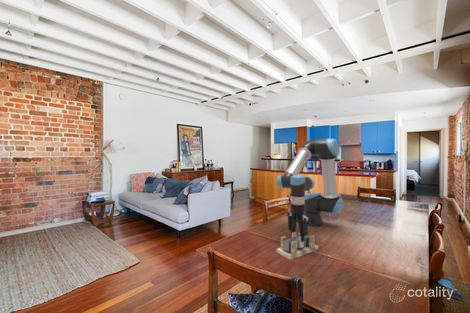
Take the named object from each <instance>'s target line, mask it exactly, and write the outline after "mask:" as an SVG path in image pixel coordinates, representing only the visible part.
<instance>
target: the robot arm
mask: <svg viewBox="0 0 470 313" xmlns="http://www.w3.org/2000/svg"><path fill="white" fill-rule="evenodd" d="M339 155H340V146H339V143H338V141H337V139H335V138H317V139H310V140H307V141H305V143H303V144H302V145H301V146H300V148H298V150H297V154H296V156H295V157H294V159H293V160H292V161H291V163H290V165H289V166H288V168H287V169H286V171H285V172H284V174H282V175H278V176H277V177H276V179H275V184H276V187H278V188H281V189H290V210H291V211H289V212H287V229H288V230H289V231H290V236H291V238H293V237H297V231H296V228H297V225H298V228H299V232H300V235H299V248H302V247H304V241H305V236H306V235H308V236H309V233H308V232H309V226H310V227H321V226H323V225H324V220H323V218H322V214H321V212H323V213H327V214H328V213H329V214H336V215H338V214H340V213H341V211H342V208H343V202H344V200H343V198H342V197H340V194H339V193H338V191H337V190H338V189H337V178H336V177H337V176H336V164H335V160H336V159H337V156H339ZM313 156H314V157H315V156H317V157H318V160H319V161H320V163H321V176H322V188H323V189H322V190H323V192H322V193H320V192H308V193H306V191H310V190H311V189H313V188H314V187H315V180H314V179H313V177H310V176H304V175H301V174H299V173H300V172H301V170H302V169H303V168H304V165H305V164H306V162H307V161H308V160H309V159H311V157H313Z"/></svg>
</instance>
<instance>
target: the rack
mask: <svg viewBox="0 0 470 313" xmlns="http://www.w3.org/2000/svg"><path fill="white" fill-rule="evenodd" d="M297 233H298V235H297V236H299V235H300V231H298V232H297ZM308 236H309V245H308V246H305V247H302V248H299V249H297V241H292V242H291V251H290V252H288V251H286V250H284V249H283V240H287V236H286V235H284V236H281V237H280V247H279V248H276V253H277V254H279V255H280V256H282V257H284V258H286V259H288V260H289V261H292V260H293V259H296V258H299V257H302V256H305V255H308V254H310V253H312V252H315V251H317V250H319V246H318V245H317V244H316V243H315V242H316V241H315V239H316V238H315V235H313V234H312V235H308Z"/></svg>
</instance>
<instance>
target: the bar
mask: <svg viewBox="0 0 470 313" xmlns="http://www.w3.org/2000/svg"><path fill="white" fill-rule="evenodd" d="M309 236H310V235H309V234H308V235H306V236H305V241H304V247H305V246H308V245H309ZM292 241H297V249H299V236H298V235H296V237H293V238H292V237H291V238H288V239H287V240H283V249H284V250H286V251H288V252H290V251H291V242H292Z"/></svg>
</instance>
